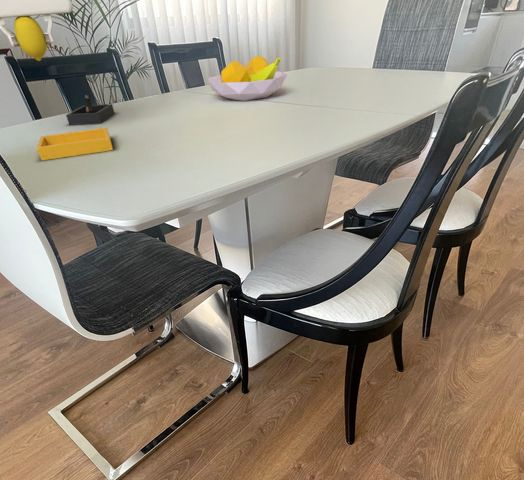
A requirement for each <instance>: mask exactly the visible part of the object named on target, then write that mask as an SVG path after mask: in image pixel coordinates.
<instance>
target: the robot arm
mask: <svg viewBox="0 0 524 480" xmlns="http://www.w3.org/2000/svg"><path fill="white" fill-rule="evenodd" d="M73 9H74V5H73V3H72V0H0V30H1V31H2V32H3V34H4V35H5V36H6V37H7V38H8V40H9V43H10V46H11V47H12V48H18V47H20V45H19V43H18V41H17V38H16V35H12V33H11V32H10V31H9V30H8V29H7V28H6V27H5V26H6V25H7V24H6V21H5V18H6V19H7V18H17V17H19V16H30V17H32V16H43V19H44V22H45V23H47V30H46V32H43V34H44V37H45V39H46V43H47V45H48V44H55V41H54V38H53V35H52V31H53V23H54V21H53V18H52V15H58V14H59V15H60V14H70V13H72V12H73Z"/></svg>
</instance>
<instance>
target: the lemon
mask: <svg viewBox="0 0 524 480" xmlns="http://www.w3.org/2000/svg"><path fill="white" fill-rule="evenodd" d="M13 31H14V36H16V38H17V41H18V43H19V45H20V46H19V47H20V48H21V50H22V51H23V53H25V54H26V55H28V56H29V57H32V58H33V59H35V61H37V62H41V61H42V59H43V57H44V55H45V54H46V53H47V49H48V48H47V47H48V44H47V43H46V38H45V37H44V34H43V33H44V30H43V29H42V27H41V25H40V24H39V23H38V22H37V20H36V19H35V18H33V17H32V16H19V17H15V20H14V22H13Z"/></svg>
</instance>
